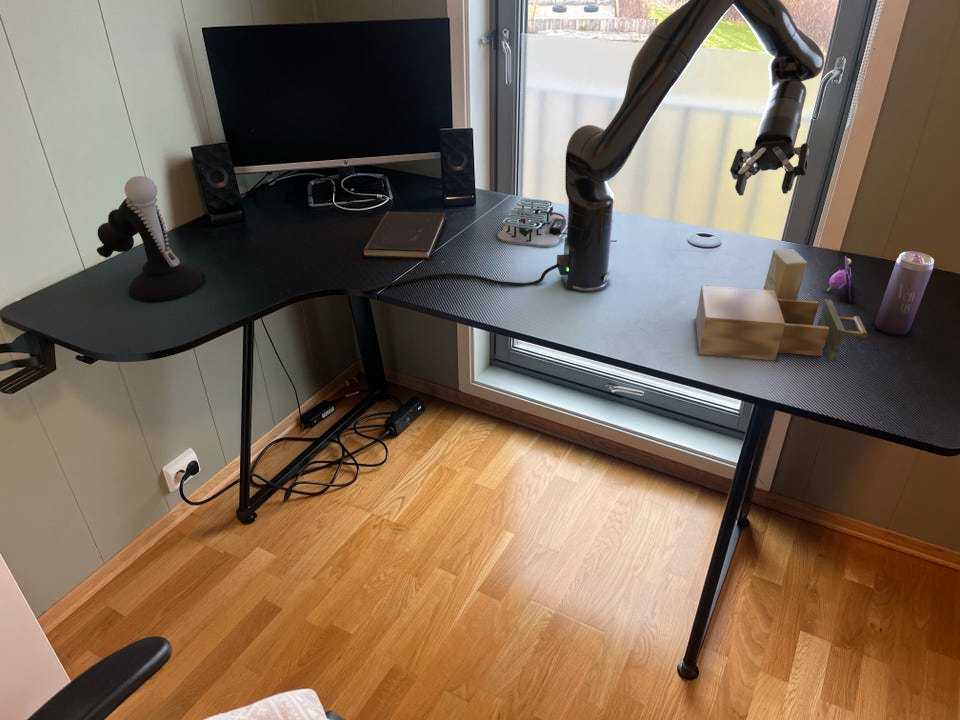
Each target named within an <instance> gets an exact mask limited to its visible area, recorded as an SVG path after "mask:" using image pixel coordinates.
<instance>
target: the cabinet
mask: <svg viewBox="0 0 960 720" xmlns="http://www.w3.org/2000/svg"><path fill="white" fill-rule="evenodd" d="M697 305H698V306H697V310H696V315H695V327H696V337H697V346H698V354H699V355H704V356H716V357H726V358H727V357H728V358H729V357H730V358H740V359H741V358H742V359H750V360H751V359H752V360H762V361H763V360H764V361H772V362H773V361H776V360H777V357H778V356H777V355H778V353H779V352H778V349H779V345H780V341H781V337H782V334H783V330H784V326H785V322H784V319H783V316H782V312H781V309H780V306H779V303H778V300H777V296H776V293H775V291H774V290H763V289H760V288H759V289H757V288H745V287H744V288H743V287H731V286H716V285H703V284H702V285H701V288H700V293H699V299H698V304H697Z"/></svg>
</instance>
